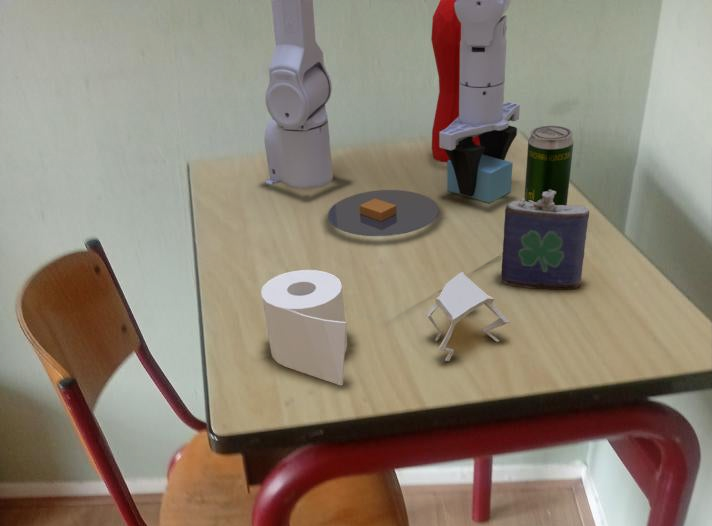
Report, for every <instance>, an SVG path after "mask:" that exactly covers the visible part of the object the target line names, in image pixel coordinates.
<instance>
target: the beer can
mask: <svg viewBox="0 0 712 526" xmlns="http://www.w3.org/2000/svg"><path fill="white" fill-rule="evenodd" d="M573 150H574V138H573V130H572V129H570V128H569V127H565V126H562V125H542V126H541V125H540V126H538V127H535V128H533V129H532V130H531V131H530V136H529V139H528V140H527V153H526V154H527V155H526V169H525V184H524V196H523V198H525V201H526V202H529V200H531V201H533V202H537V201H538V200H541V199H542V198H543V196H542V194H543V192H545V191H547V192H549V191H548V190H552V191H556V194H555V195H554V198H553V202H554V203H555V204H554V205H565V206H568V197H569V188H570V181H571V180H570V178H571V170H572V169H571V168H572V160H573Z"/></svg>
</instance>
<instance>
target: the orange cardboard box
mask: <svg viewBox="0 0 712 526" xmlns="http://www.w3.org/2000/svg"><path fill="white" fill-rule="evenodd" d="M360 214H361V215H364V216H367V217H370V218H373V219H376V220H379V221H383V220H385V219H387V218H389V217H391V216H393V215H396V214H397V213H396V205H393V204H390V203H387V202H384V201H381V200H378V199H375V198H374V199H372V200H370V201H368V202H366V203H364V204H362V205H360Z"/></svg>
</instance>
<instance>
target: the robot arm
mask: <svg viewBox="0 0 712 526" xmlns="http://www.w3.org/2000/svg"><path fill="white" fill-rule="evenodd" d="M456 1H457V2H455V3H454V6H455V12H456V15H457V18H458V19H459V21H460V23H461V41H460V84H459V117H458V118H457V119H456V120H455V121H453V122H452V123H451V124H450V125H449V126H448V127H447V128H446V129H444V130H443V131H441V132H439V147H440V148H443V149H444V150H445V152H446V153H447V155H448V157H449V159H450V161H451V163H452V166H453V168H454V172H455V175H456V179H457V183H458V187H459V192H460V194H463V195H466V196H470V197H471V196H473V195H474V192H475V188H476V181H477V171H478V166H479V162H480V159H481V156H482V154H483V155H486V156H490V157H494V158H498V159H501V160H505V159H506V157H507V155H508V152H509V150H510V147H511V145H512V144H513V142H514V140H515V139H516V137H517V135H518V128H517V127H516V126H514V125H513V126H512V125H510V122H516V121H519V120H520V109H521V104H519V103H514V102H510V101H507V102H505V103H504V98H505V81H506V58H507V17H508V16H507V15H504V14H505V13H506V12H507V10H508V9H509V7H510V4H511V2H512V0H456ZM270 2H271V11H272V12H271V13H272V24H273V30H274V32H273V33H274V42H275V46H274V51H273V53H272V56H271V60H270V63H269V66H268V75H269V76H268V77H269V78H268V79H269V81H268V82H269V83H268V86H267V88H266V92H265V106H266V109H267V112H268V114H269V116H270V118H271V119H270V120H269V121H268V123H267V125H266V127H265V130H264V138H263V139H264V147H265V149H264V150H265V154H266V155H265V156H266V162H267V169H268V175H269V179H267V180H265V184H266V186H272V185H273V184H276V183H278V182H281V183H284V184H285V185H286V186H288V187H289V188H295V189H301V190H302V189H303V190H304V189H305V190H306V189H315V188H321V187H323V186H326V185H328V184H329V183H331V182H332V181H333V180H334V173H333V161H332V151H331V140H330V139H331V138H330V129H329V127H330V126H329V119H328V113H327V108H326V104H327V103H328V102H329V100H330V98H331V95H332V90H333V89H332V87H333V86H332V80H331V77H330V75H329V72H328V71H327V69H326V66H325V59H324V52H323V50H322V48H321V47H320V45H319V44H318V43H317V40H316V26H315V14H314V0H270ZM476 136H478V137H479V141H480V146H479V145H475V141H474V142H473V137H476ZM505 161H506V160H505ZM460 194H459V195H460ZM463 195H462V196H463ZM466 196H465V197H466Z"/></svg>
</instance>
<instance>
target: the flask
mask: <svg viewBox="0 0 712 526" xmlns="http://www.w3.org/2000/svg"><path fill="white" fill-rule="evenodd" d="M548 191H549V192H547V191H545V192H543V194H542V196H543V198H542V199H541V200H538V201H537V202H533V201H531V200H529V202H526V201H525V198H524V197H523V198H521V199H520V200H514V201H510V202H508V203H507V204H506V206H505V209H504V222H503V223H504V225H503V240H502V241H503V242H502V254H501V255H502V258H501V281H502V283H504V284H506V285H510V286H515V287H525V288H529V289H538V288H540V289H548V290H571V289H573V290H574V289H577V288H579V287H580V284H581V281H582V274H583V264H584V258H585V247H586V239H587V231H588V224H589V218H590V210H589V208H588V207H586V206H585V205H580V204H579V205H578V204H575V205H574V204H573V205H572V204H571V205H568V204H567V206H565V205H554V204H555V203H554V202H553V198H554V195H555V194H556V191H552V190H548Z"/></svg>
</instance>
